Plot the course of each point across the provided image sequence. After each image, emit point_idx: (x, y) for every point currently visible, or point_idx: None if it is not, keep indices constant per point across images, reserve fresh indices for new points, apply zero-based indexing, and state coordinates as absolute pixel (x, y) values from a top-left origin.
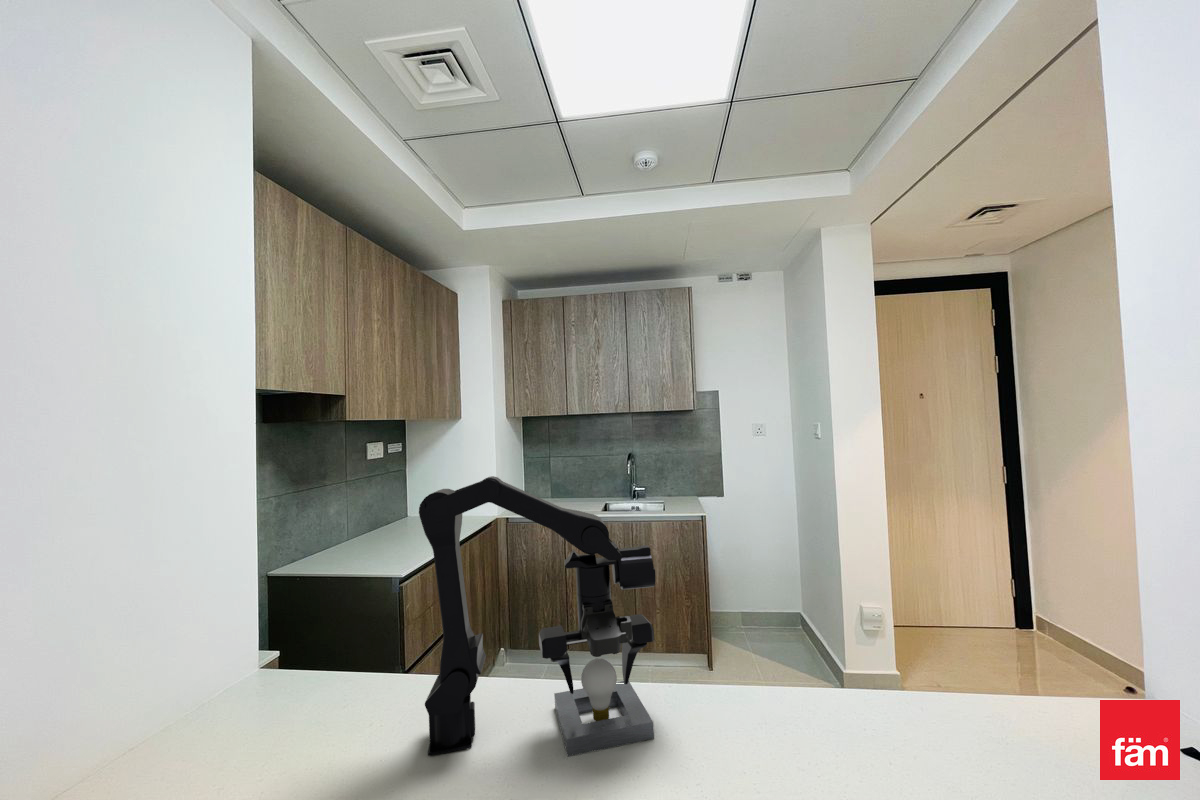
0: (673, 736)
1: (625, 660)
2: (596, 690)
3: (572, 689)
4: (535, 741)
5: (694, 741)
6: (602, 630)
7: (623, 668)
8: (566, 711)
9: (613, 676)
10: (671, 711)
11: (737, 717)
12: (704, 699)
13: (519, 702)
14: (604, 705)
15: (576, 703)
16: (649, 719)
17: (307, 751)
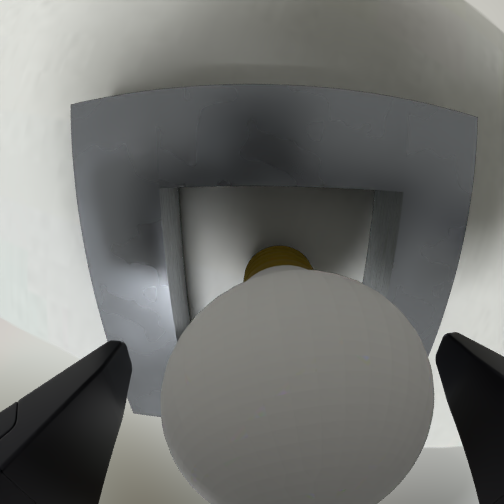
0: (45, 111)
1: (60, 457)
2: (361, 287)
3: (463, 343)
4: (490, 237)
5: (8, 80)
6: None
7: (105, 425)
8: (424, 305)
9: (188, 366)
10: (29, 251)
11: None
12: None
13: (445, 403)
14: (276, 268)
15: None
16: (79, 124)
17: None
